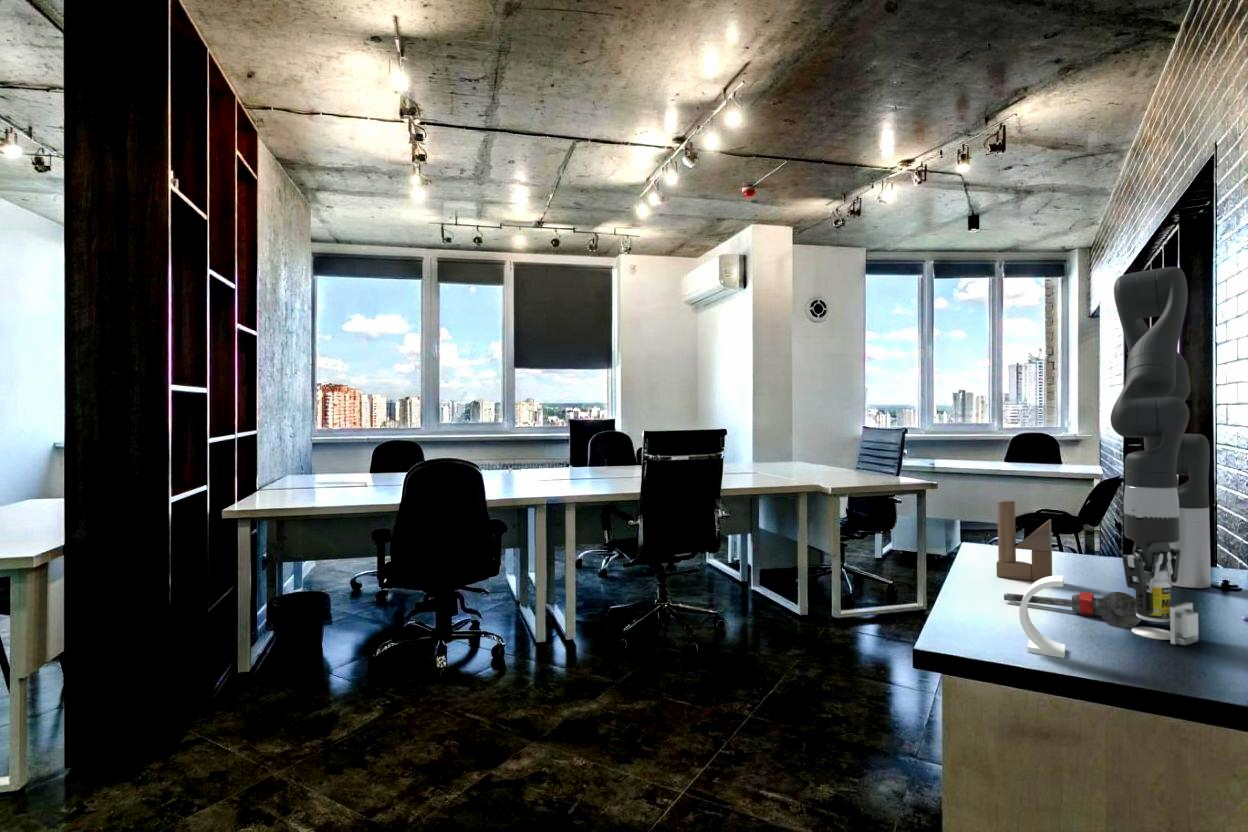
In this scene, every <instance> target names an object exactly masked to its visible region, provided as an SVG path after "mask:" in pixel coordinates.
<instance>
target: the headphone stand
mask: <svg viewBox="0 0 1248 832" xmlns="http://www.w3.org/2000/svg"><path fill="white" fill-rule="evenodd" d="M1064 581H1065V575H1052V576H1049V577H1045V578H1042V579H1040V580H1038V581H1036V582H1034V581H1033V583H1032V584H1031V585H1030V586H1029V587H1028V588H1027V589H1026V591H1025V592H1024V594H1023V595H1024V596H1023V599H1022V602H1020V605H1019V615H1018V616H1019V621H1020V625H1021V628H1022V630H1023V631H1024V634H1025V635H1026V637H1027V638H1028V639H1029V640H1028V643H1027V652H1026V653H1031V654H1037V655H1038V654H1039V655H1043V656H1051V657H1057V658H1062V659H1065V655H1066V644H1065V643H1060V642H1057V641H1055V640H1052V639H1051V638H1049V637H1047V636H1045V635H1044V634H1042V633H1041V632H1040V631H1039V630H1038V629H1037V627H1035V625H1034V624H1033V622H1032V621H1031V618H1030V614H1029V610H1028V607H1029V606H1028V605H1029V603H1028V602H1029V600H1030V599H1031V597H1032V596H1035V594H1037V593H1038V592H1040V591H1043V590H1045V589H1049V588H1054V587H1057V588H1059V587H1061V588H1063V587H1064V583H1065V582H1064Z"/></svg>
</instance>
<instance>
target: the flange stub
mask: <svg viewBox="0 0 1248 832" xmlns="http://www.w3.org/2000/svg"><path fill="white" fill-rule="evenodd" d="M1193 605H1194V603H1193V602H1190V601H1187V602H1183V603H1181V604H1177V605H1173V606H1171V607H1170V621H1169V623H1170V625H1169V627H1170V630H1169V631H1170V636H1171V640H1170V644H1171V645H1177V644H1178V645H1181V646H1188V645H1190V644H1193V643H1197V642H1199V613H1198V612H1195V611H1194V606H1193Z"/></svg>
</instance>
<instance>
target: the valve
mask: <svg viewBox="0 0 1248 832" xmlns="http://www.w3.org/2000/svg"><path fill="white" fill-rule="evenodd" d="M1023 596H1024V594H1018V593H1008V592H1007V593H1004V594H1003V601H1009V602H1018V603H1019V602H1020V603H1021V602H1022V599H1023ZM1029 603H1030V604H1039V605H1048V606H1058V607H1069V608H1071V609H1072V612H1073V613H1076V614H1079V615H1081V616H1085V617H1086V616H1087V617H1093V618H1094V617H1095V616H1096V615H1100V618H1102V619H1103V620H1104V622H1105V623H1107V624H1109V625H1110V626H1114V627H1120V628H1128V629H1132V628H1134V627H1137V626H1138V624H1139V623H1140V622H1141V621H1148V620H1144V619H1141V618H1139V617H1137V616H1136V597H1134V596H1133V595H1131V594H1129V593H1127V592H1123V591H1112V592H1109V593H1107V594H1104V595H1103V596H1102V597H1095V595H1094V593H1093V592H1081V591H1080V592H1079V594H1072V596H1071V599H1068V598H1058V597H1049V596H1037V595H1033V596H1032V597H1031V599H1030V600H1029V602H1028V604H1029Z"/></svg>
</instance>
